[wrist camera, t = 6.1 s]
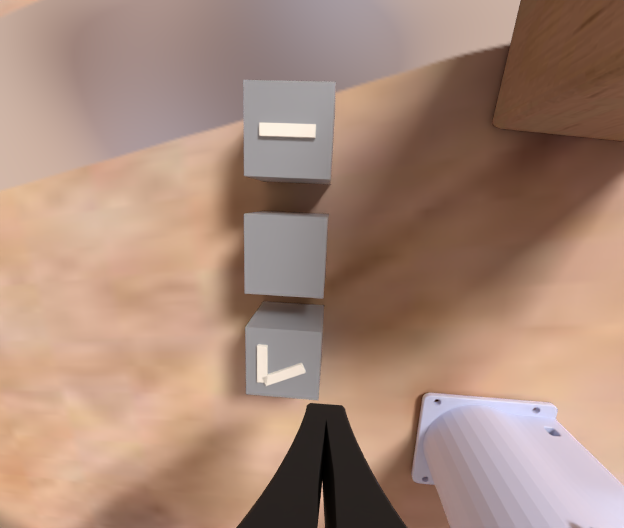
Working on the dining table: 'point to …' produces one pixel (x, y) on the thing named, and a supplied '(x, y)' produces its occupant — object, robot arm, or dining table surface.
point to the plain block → (285, 253)
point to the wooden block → (565, 70)
